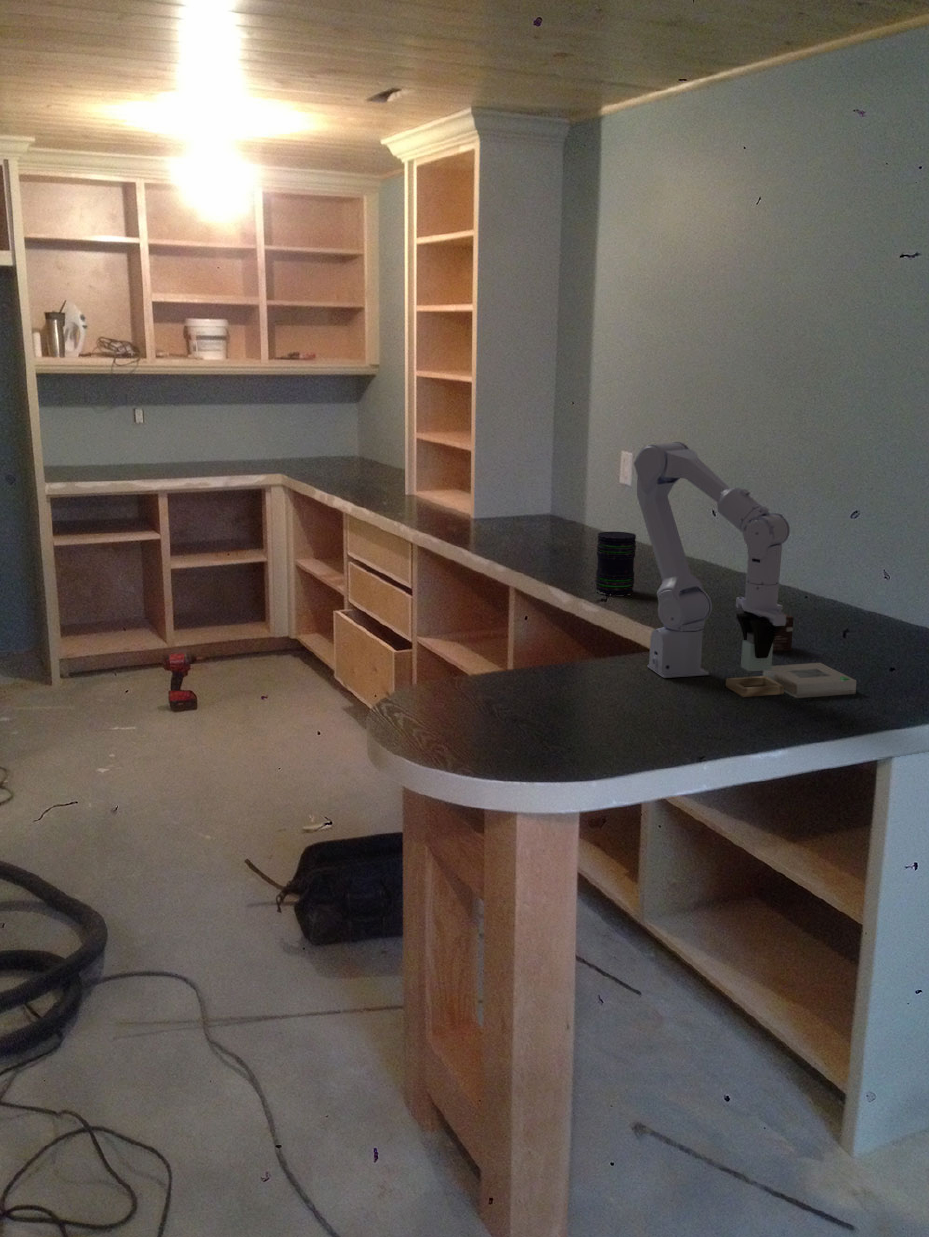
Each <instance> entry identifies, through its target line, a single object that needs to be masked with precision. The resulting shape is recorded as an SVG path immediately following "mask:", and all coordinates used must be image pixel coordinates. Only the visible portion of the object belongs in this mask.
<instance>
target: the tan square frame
mask: <svg viewBox="0 0 929 1237" xmlns="http://www.w3.org/2000/svg"><path fill="white" fill-rule="evenodd" d="M725 687H727V688H728V689H730V690H731V691H733V692H734V693H736V694H738V695H739V696H741V697H743V698H746V697H747V698H748V697H761V696H762V697H763V696H773V695H774V696H775V695H776V696H777V695H784V694H785V692H784V686H783V685H781V684H779V683H778V682H776V681H774V680H772V679H771V678H769V677H767V676H763V675H760V676H759V675H758V676H746V677H745V676H744V677H743V676H742V677H730V678H729V677H728V678H726V680H725Z"/></svg>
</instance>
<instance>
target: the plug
mask: <svg viewBox="0 0 929 1237" xmlns="http://www.w3.org/2000/svg"><path fill="white" fill-rule="evenodd" d="M741 646H742V647H741V655H740V656H741V658H740V659H741V660H740V668H742V669H744V670H746V672H758V671H759V672H760V671H762V672H763V670H771V666H773V665H772V662H773V653H774V652H773V643H772V646H771V649H770V652H769V655H768V657H767V658H756V656H755V641H754V633H753V632H752V633H747V640H744V639H742V645H741Z"/></svg>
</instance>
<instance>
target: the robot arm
mask: <svg viewBox="0 0 929 1237" xmlns="http://www.w3.org/2000/svg"><path fill="white" fill-rule="evenodd" d="M633 465H634V469H635V472H636V476H637V477H636V478H637V479H636V496H637V501H638V503H639V507H640V509H641V514H642V517H643V520H644V524H645V527H646V530H647V533H648V537H649V540H650V544H651V547H652V551H653V553H654V557H655V561H656V563H657V567H658V568H657V569H658V570H659V574H660V577H661V581H662V582H661V584H660V587H659V588H658V590H657V592H656V596H657V600H658V601H657V602H658V607H657V614H658V617H659V619H660V621H661V623H662V624H663V626H662V627H659V628H653V630H652V631H651V634H650V643H649V644H650V645H649V660H648V662H649V664H647V668H649V670H651V671H653V672H654V673H655V674H657V675H659V676H660V677H662V678H663V679H669V678H683V677H684V678H686V677H697V676H698V677H700V676H701V677H702V676H709V675H710V673H709V672H708V671H707V670H705V669H704V668H702V667H701V665H702V651H703V634H704V627H705V622H706V620H707V619H709V617H710V615H711V614H712V609H713V603H712V600H711V598H710V595H708V593H707V592H706V591H705V590H704V587H703V585H702V581H701V580H700V579H699V578H697V577H695V576H694V575H693V574H692V573H691V571H690V567H689V563H688V561H687V560H688V559H687V557H686V554H685V550H684V547H683V544H682V540H681V537H680V534H679V529H678V527H677V524H676V520H675V517H674V514H673V511H672V510H673V509H672V506H671V504H670V500H669V494H670V492H671V491H672V488H673V486H674V485H675V484H676V483H678V482H679V480H680V479H684V480H687V481H688V482H690V483H691V484H692V485H693V486H695V487H696V488H698V489H699V490H700V491H701V492H703V493H704V494H706V495H707V496H708V497H709V498H711V499H712V500H713V501H715V502H716V503H717V512H718V513H719V514H720V515H721V516H722V517H724V519H726V520H727V522H729V523H731V524H732V525H733V526H734V527H735V528H737V530H739V531H740V532H741V533H742V536H743V540H744V543H745V544H746V546H747V552H746V553H747V554H748V555H747V566H746V576H745V577H746V579H745V591H744V593H745V594H744V596H739V597H737V596H736V598H735V599H736V600H735V602H736V603H735V608H736V609H743V612H742V613H736V616H735V617H736V620H737V621H738V623H739V625H740V629H741V632H742V637H743V640H747V633H752V632H753V633H754V641H755V656H756V658H767V657H768V655H769V652H770V649H771V646H772V643H773V641H774V639H775V637H776V635H777V633H778V632H779V630H780V629H781V628H782V627H783V626H785V624H786V615H785V614H786V613H785V614H783V613H784V612H783V611H782V610H783V605H782V604H779V603H778V601H779V600H778V597H779V589H780V588H779V587H780V576H781V565H782V564H781V563H782V552H783V544H784V543H785V542H786V541H787V540H788V538H789V535H790V525H789V522H788V521H787V519H786V518H785V517H784V516H783V514H781V513H778V512H769V508H768V507H767V506H764V505H761V503H759V502H757V500H755V499H754V498H753V497H751V496H750V494H751V492H750V491H749V490H748V489H747V488H743V489H742V488H741V487H732V488H731V487H730V486H728V485H727V484H726V483H725V482H724V481H723V480H722V479H721V478H720V477H719V476H718V475H717V474H716V473H715V472H714V471H713V470H711V469H710V468H709V466H707V465H706V464H705V463H704V462H703V461H702V460H701V459H700V458H699V456H698V454H697V452H696V451H695V450H694V449H691V448H690V447H689V446H688V445H687V444H685V443H684V442H682V441H674V442H670V443H661V444H660V443H658V444H655V443H648V444H646V445H643V447H642V448H641V449H640V450H639V452H638V454H637V456H636V458H635V460H634V462H633Z"/></svg>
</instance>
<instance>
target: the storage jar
mask: <svg viewBox="0 0 929 1237" xmlns="http://www.w3.org/2000/svg"><path fill="white" fill-rule="evenodd" d="M636 539H637V535H636V534H635V533H632V532H628V531H627V532H626V531H603V532H598V533H597V543H596V556H597V565H596V566H597V567H596V571H595V590H596V589H597V590H599V591H600V592H603V593H606V594H611V595H628V594H632V593H633V594H634V584H635V571H634V567H635V566H634V565H635V557H636V550H637V549H636V548H637V545H636ZM633 594H632V595H633Z"/></svg>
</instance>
